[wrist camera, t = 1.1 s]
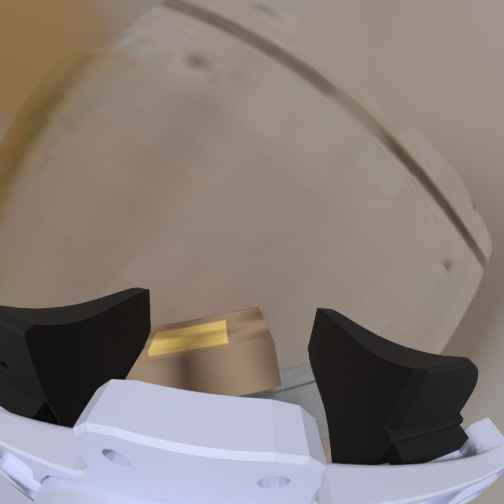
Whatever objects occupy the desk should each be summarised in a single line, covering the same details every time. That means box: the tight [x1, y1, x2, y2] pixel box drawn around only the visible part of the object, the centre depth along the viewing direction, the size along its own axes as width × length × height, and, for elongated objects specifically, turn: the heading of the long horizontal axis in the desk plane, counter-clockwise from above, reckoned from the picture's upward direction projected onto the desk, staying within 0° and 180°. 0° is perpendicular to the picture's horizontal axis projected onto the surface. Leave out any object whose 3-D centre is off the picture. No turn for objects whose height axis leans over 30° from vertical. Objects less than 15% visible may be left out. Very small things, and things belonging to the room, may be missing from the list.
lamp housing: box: [125, 307, 282, 397], centre depth 21 cm, size 12×5×7 cm, turn 101°
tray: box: [240, 363, 329, 440], centre depth 26 cm, size 11×11×2 cm
